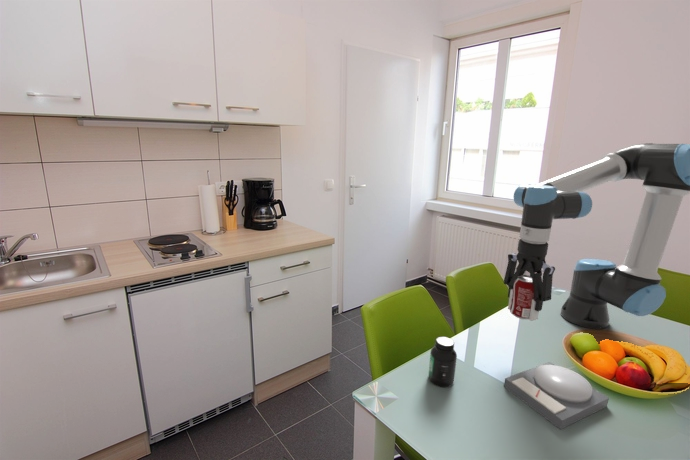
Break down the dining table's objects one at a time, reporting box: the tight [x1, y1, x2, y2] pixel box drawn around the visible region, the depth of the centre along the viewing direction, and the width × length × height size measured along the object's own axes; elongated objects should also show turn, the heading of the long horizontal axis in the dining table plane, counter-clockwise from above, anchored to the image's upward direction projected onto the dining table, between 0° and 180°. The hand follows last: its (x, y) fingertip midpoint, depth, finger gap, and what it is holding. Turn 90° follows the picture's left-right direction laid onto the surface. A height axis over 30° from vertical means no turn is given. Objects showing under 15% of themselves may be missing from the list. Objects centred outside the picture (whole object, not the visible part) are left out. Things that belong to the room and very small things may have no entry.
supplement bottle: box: [428, 336, 458, 388], centre depth 96 cm, size 7×7×12 cm
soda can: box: [509, 274, 535, 320], centre depth 105 cm, size 7×7×12 cm
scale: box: [503, 361, 610, 430], centre depth 92 cm, size 18×16×4 cm
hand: (522, 313), depth 106 cm, fingers closed on soda can, 7 cm apart
